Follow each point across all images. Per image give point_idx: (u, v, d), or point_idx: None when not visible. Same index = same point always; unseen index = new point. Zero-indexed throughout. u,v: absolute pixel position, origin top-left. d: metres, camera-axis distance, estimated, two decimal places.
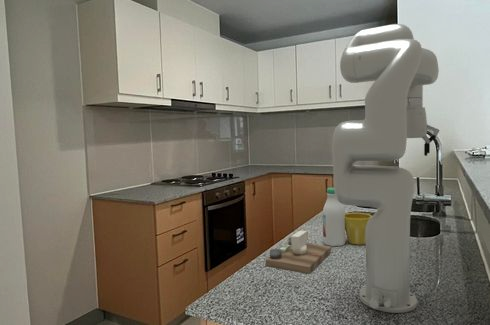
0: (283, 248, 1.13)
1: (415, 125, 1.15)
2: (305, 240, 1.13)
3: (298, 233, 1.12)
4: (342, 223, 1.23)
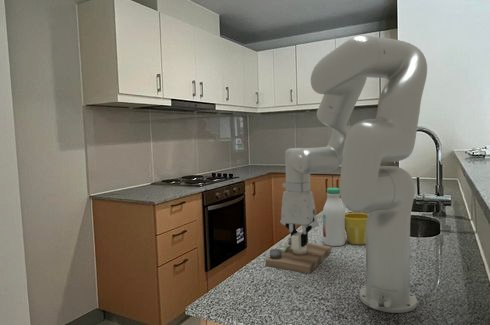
0: (283, 248, 1.13)
1: (301, 212, 1.08)
2: None
3: (298, 233, 1.12)
4: (342, 223, 1.23)
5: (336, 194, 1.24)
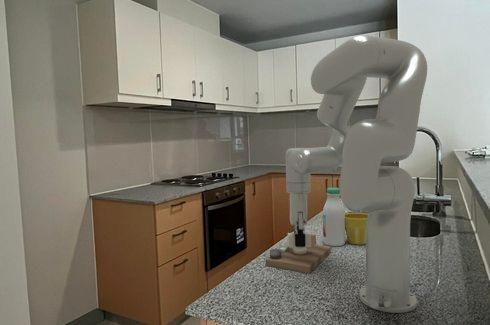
0: (283, 248, 1.13)
1: (290, 211, 1.10)
2: (306, 242, 1.11)
3: None
4: (342, 223, 1.23)
5: (336, 194, 1.24)
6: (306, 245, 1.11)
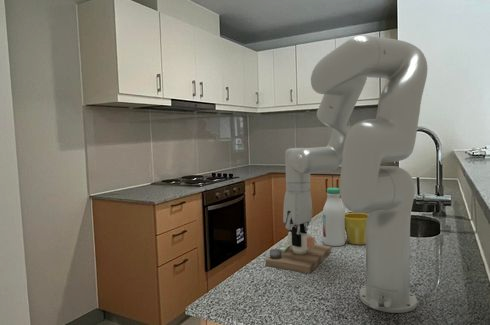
0: (283, 248, 1.13)
1: None
2: (302, 244, 1.10)
3: None
4: (342, 223, 1.23)
5: (336, 194, 1.24)
6: (302, 246, 1.10)
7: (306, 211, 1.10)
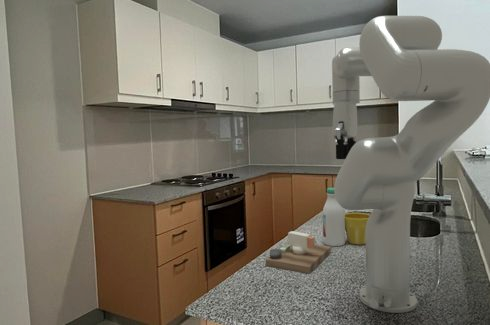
0: (283, 248, 1.13)
1: None
2: (302, 244, 1.10)
3: (299, 233, 1.12)
4: (342, 223, 1.23)
5: None
6: (302, 246, 1.10)
7: (355, 124, 1.02)
